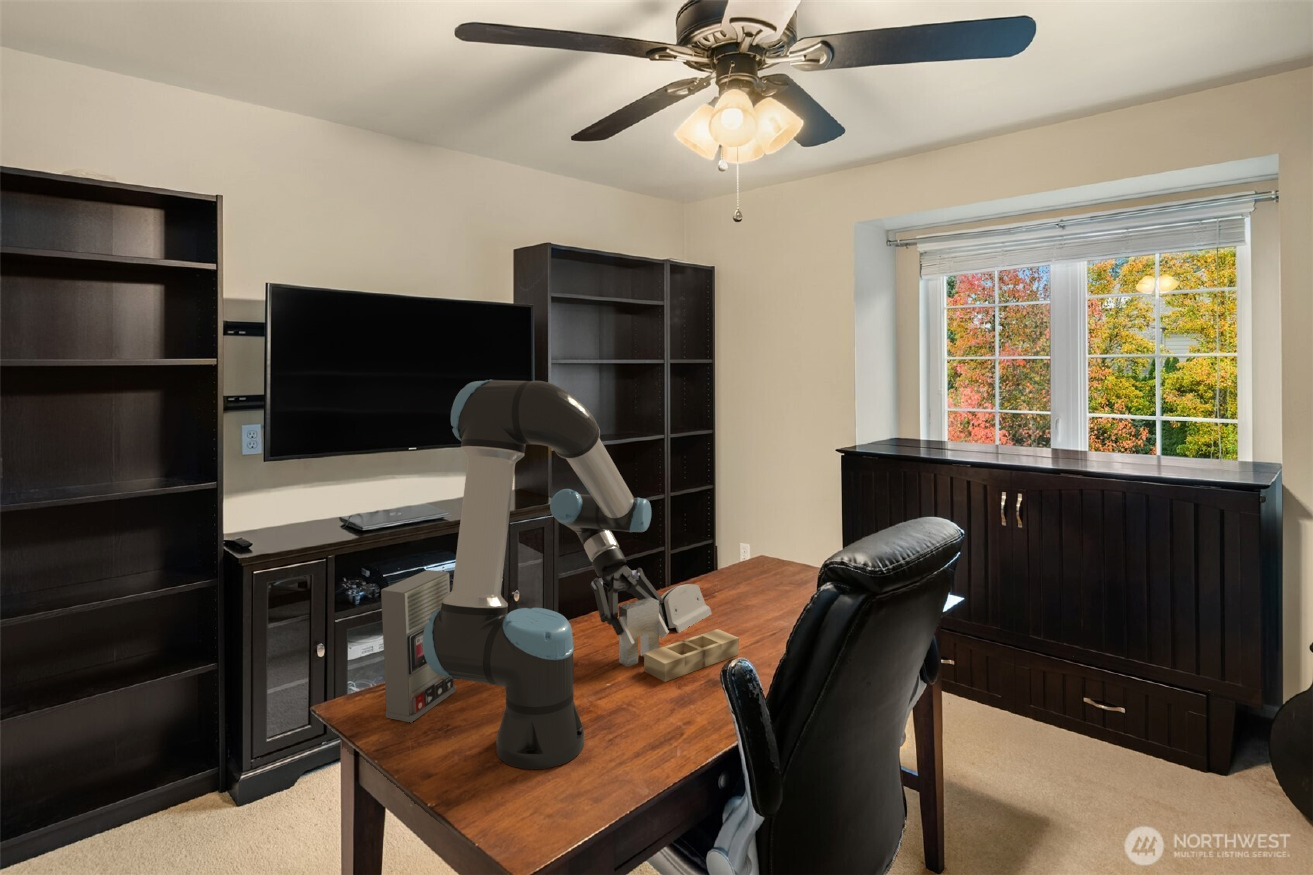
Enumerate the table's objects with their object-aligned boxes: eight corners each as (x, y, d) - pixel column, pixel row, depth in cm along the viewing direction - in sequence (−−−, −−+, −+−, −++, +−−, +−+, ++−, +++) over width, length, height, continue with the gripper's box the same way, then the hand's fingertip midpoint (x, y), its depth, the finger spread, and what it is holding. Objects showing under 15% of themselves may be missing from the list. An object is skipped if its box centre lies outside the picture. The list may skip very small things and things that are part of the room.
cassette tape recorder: (412, 724, 135) (407, 593, 132) (385, 718, 137) (379, 589, 134) (457, 692, 148) (453, 572, 145) (432, 687, 150) (427, 569, 147)
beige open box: (665, 681, 152) (665, 663, 152) (644, 670, 158) (644, 653, 157) (738, 654, 166) (738, 637, 166) (717, 645, 172) (717, 628, 171)
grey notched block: (627, 666, 160) (627, 609, 159) (619, 662, 162) (618, 605, 161) (659, 656, 166) (658, 600, 164) (650, 651, 168) (650, 597, 166)
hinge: (678, 633, 179) (667, 593, 180) (663, 635, 182) (652, 596, 183) (712, 613, 193) (702, 576, 194) (698, 616, 196) (687, 579, 197)
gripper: (635, 556, 181) (677, 636, 170) (560, 572, 167) (601, 661, 156) (648, 539, 176) (692, 621, 165) (572, 554, 162) (615, 645, 152)
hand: (648, 640), depth 161 cm, fingers closed on grey notched block, 9 cm apart
